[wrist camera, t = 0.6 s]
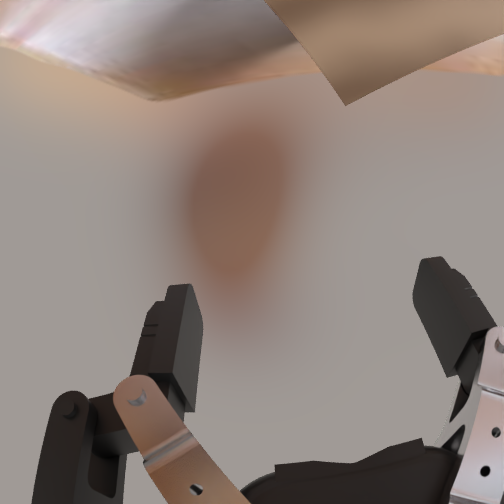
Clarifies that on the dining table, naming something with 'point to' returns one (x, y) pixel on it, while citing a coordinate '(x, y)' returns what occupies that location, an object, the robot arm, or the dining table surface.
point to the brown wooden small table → (385, 36)
